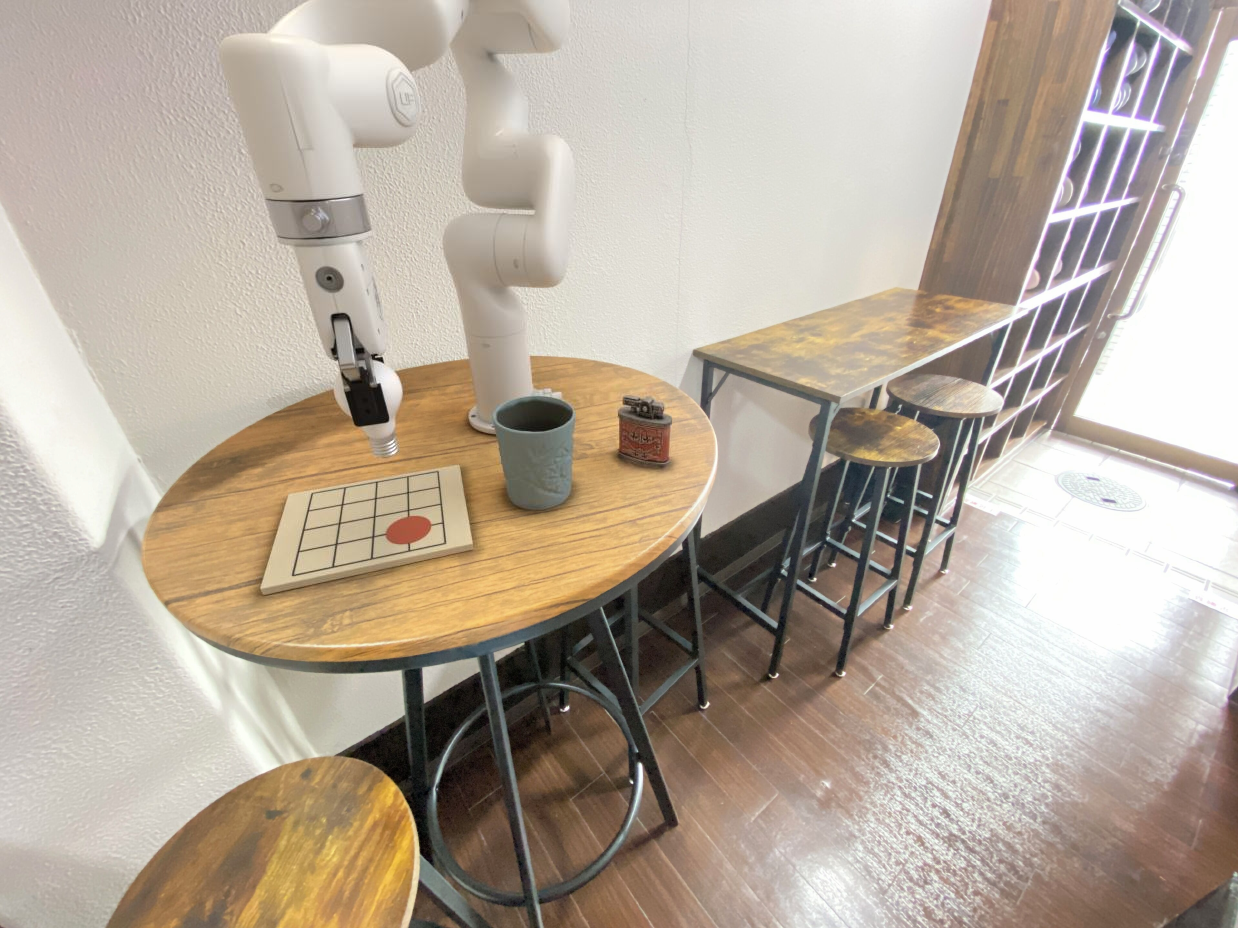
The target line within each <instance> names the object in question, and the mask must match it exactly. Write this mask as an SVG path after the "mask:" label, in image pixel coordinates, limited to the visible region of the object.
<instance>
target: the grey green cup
mask: <svg viewBox="0 0 1238 928" xmlns="http://www.w3.org/2000/svg"><path fill="white" fill-rule="evenodd" d="M492 418H493V423H494V428H495V433H496V434H495V436H496V441H497V446H498V453H499V457H500V464H501V467H502V468H501V469H502V472H503V478H505V488H506V493H507V497H508V499H509V500H510V502H511V503H512V504H513V505H514V506H516V507H518V508H520V509H524V510H528V511H542V510H543V511H544V510H548V509H552V508H555V507H557V506H559V505H561V504H562V503H564V502H565V501H566V500H567V499H568V498H569V496H570V494H571V491H572V476H573V470H572V469H573V458H574V457H573V455H574V454H573V453H574V441H575V439H574V433H575V424H576V410H575V409H574V407H573V406H572V405H571V404H570V402H567V401H566V400H564V399H563V400H560V399H557V398H553V397H547V396H526V397H520V398H516V399H513V400H510V401H507V402H505V403H503V404H501V405H500V406H499V407H497V408H496V409H495V411H494V412H493V415H492Z"/></svg>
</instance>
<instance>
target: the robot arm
mask: <svg viewBox="0 0 1238 928" xmlns="http://www.w3.org/2000/svg"><path fill="white" fill-rule="evenodd" d="M570 28H571V6H570V0H307V1H305V2H304V3H302V4H300V5H298V6H297V7H295V8H293V9H292V10H290V11H289V12H287V13H286V14H285V15H284V16H282V17H281V18H280V19H278V21H276V23H274V25H273V26H272V27H270V29H268V31H267V32H266V33H265V32H247V33H245V32H244V33H235V34H231V35H228V36H226V37H224V38H223V39H222V41H221V42H220V44H219V47H218V59H219V62H220V66H221V70H222V73H223V77H224V79H225V82H226V85H227V87H228V92H229V95H230V98H231V101H232V104H233V107H234V110H235V113H236V116H237V119H238V122H239V125H240V128H241V131H242V134H243V137H244V140H245V143H246V147H247V149H248V152H249V156H250V159H251V163H252V165H253V168H254V171H255V174H256V178H257V181H258V183H259V187H260V190H261V193H262V197H263V199H264V203H265V205H266V208H267V212H268V214H269V218H270V221H271V224H272V228H273V230H274V233H275V236H276V240H277V242H278V243H279V244H280V245H286V246H291V247H293V250H294V254H295V257H296V261H297V264H298V268H299V274H300V275H301V279H302V282H303V287H304V290H305V294H306V297H307V300H308V304H309V307H310V310H311V314H312V317H313V319H314V323H315V327H316V329H317V330H316V331H317V333H318V336H319V339H320V342H321V345H322V347H323V349H324V350H323V351H324V353H325V355H326V356H327V358H329V359H330V360H332V361H334V362H337V364H338V368H339V372H340V373H341V378H342V382H343V387H344V393H345V396H346V399H347V403H348V406H349V409H350V412H351V416H352V418H351V419H352V422H353V425H354V426H355V427H357V428H361V427H362V426H369V425H376V424H383V423H387V422H389V414H388V410H387V406H386V402H385V398H384V395H383V391H382V387H381V383H377V381H376V376H375V371H374V367H373V362H372V360H376V361H379V362H382V363H384V364H385V361H384V357H383V355H384V354H385V353H386V351H387V346H388V323H387V320H386V317H385V313H384V309H383V306H382V301H381V299H380V294H379V290H378V287H377V282H376V279H375V275H374V272H373V268H372V264H371V261H370V258H369V253H368V251H367V248H366V245H365V242H364V240H368V239H369V238H372V237H374V232H373V228H372V223H371V218H370V214H369V210H368V206H367V201H366V197H365V194H364V190H363V185H362V181H361V177H360V172H359V168H358V164H357V160H356V155H355V151H354V149H388V148H394V147H398V146H401V145H402V144H404V143H406V142H407V141H409V140H410V139H411V138H412V137H413V136H414V135H415V134H416V132H417V130H418V128H419V125H420V123H421V118H422V102H421V97H420V92H419V89H418V86H417V82H416V81H415V79H414V77H413V75H412V74H411V73H414V72H416V71H419V70H421V69H424V68H426V67H429V66H431V65H434V64H435V63H436V62H438V61H440V60H441V59H442V58H443V56H444V55H445V54H446V52H447V51H448V50H449V49H450V51H451V54H452V57H453V59H454V62H455V65H456V66H457V70H458V72H459V74H460V77H461V79H462V83H463V86H464V91H465V97H466V109H465V110H466V111H465V122H464V123H465V124H464V135H463V136H464V137H463V147H462V160H461V184H462V189H463V192H464V194H465V196H466V197H467V198H468V200H469V201H470V202H471V203H473V204H474V205H476V206H479V207H481V208H485V209H493V210H494V209H495V210H510V211H511V210H514V211H515V210H516V211H520V210H521V211H534V213H533V214H529V213H527V214H526V213H525V214H524V213H507V212H468V213H464V214H463V213H462V214H459V215H457V216H455V217H454V218H452V219H451V220H450V221H449V222H448V223H447V225H446V226H445V228H444V231H443V236H442V250H443V254H444V256H443V257H444V259H445V262H446V265H447V268H448V271H449V273H450V277H451V279H452V282H453V285H454V287H455V292H456V295H457V300H458V304H459V310H460V314H461V320H462V325H463V332H464V338H465V345H466V350H467V356H468V357H467V358H468V362H469V363H468V364H469V369H470V374H471V381H472V386H473V393H474V399H475V405H474V406H473V407H472V408H471V409H470V410H469V412H468V417H467V418H468V421H469V424H470V426H471V427H472V428H473V429H475V430H477V431H479V432H482V433H485V434H491V435H496V433H495V428H494V423H493V418H492V415H493V412H494V411H495V409H496V408H497V407H499V406H500V405H501V404H503V403H505V402H507V401H510V400H513V399H516V398H520V397H526V396H547V397H553V398H557V399H560V400H563V401H564V399H563V394H562V391H554V392H553V391H552V388H550V387H548V388H543V389H537V388H535V387H534V384H533V374H532V373H533V372H532V363H531V355H530V354H531V353H530V344H529V333H528V323H527V322H528V321H527V314H526V310H525V308H524V306H523V305H524V304H523V303H522V302H521V300H520V298H519V296H518V295H517V294H516V292H515V290H514V289H513V288H514V287H515V288H517V287H518V288H533V289H546V288H547V289H549V288H555V287H557V286H558V285H560V284H561V283H562V282H563V280H564V279H565V277H566V274H567V270H568V265H569V257H570V249H571V238H572V227H573V217H574V205H575V195H576V168H575V167H576V166H575V161H574V156H573V153H572V149H571V148H570V145H569V144H568V143H567V142H566V140H564V139H563V138H562V137H561V136H559V135H556V134H554V133H549V132H528V128H529V116H530V115H529V114H530V111H529V110H530V107H529V102H528V99H527V96H526V95H525V92H524V90H523V89H522V87H521V85H520V84H519V83H518V81H517V79H516V77H514V75H513V74H512V73H511V72H510V71H509V70H508V68H507V67H506V66H505V65H504V63H503V62H502V60H501V59H500V56H499V55H522V54H523V55H524V54H527V55H529V54H548V53H555V52H556V51H558V50H560V49H561V48H562V47H563V46H564V44H565V43H566V42H567V39H568V36H569V33H570V30H571V29H570ZM512 287H513V288H512ZM359 361H365V365H366V369H364V367H363V366H361V367H359V363H358V362H359Z"/></svg>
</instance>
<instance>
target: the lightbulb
mask: <svg viewBox="0 0 1238 928" xmlns="http://www.w3.org/2000/svg"><path fill="white" fill-rule="evenodd" d="M372 362H373V367H374V371H375V376H376V381H377V383H381V387H382V391H383V395H384V398H385V402H386V406H387V410H388V414H389V422H387V423H383V424H376V425H369V426H362V427H360V430H361V431H362V432H363V433H364V434H365V436H367V439H368V442H369V445H370V449H371V453H372V454H373V456H374V457H376V458H379V459H389V458H391V457H393V456H395V455H396V454H397V453H398V452H399V450H400V447H399V443H398V440H397V436H396V432H395V430H396V418H397V417H396V415H397V413H398V411H399V409H400V407H401V404H402V401H403V397H404V392H403V391H404V390H403V389H404V388H403V383H402V381H401V379H400V377H399V375H398V374H397V372H396V371H394V369H392V367H391V366H389V365H387V364H386V363H385V362H384V363H382V362H379V361H376V360H372ZM358 363H359V367H361V366H363V367H364V369H366V365H365V361H359V362H358ZM333 395H334V398H335V401H336V404H337V405H338V407H339V409H340V410H341V411H342V412H343V413H344V414H345V415H347V416H348V417H349V418H350V419H352V416H351V412H350V409H349V406H348V403H347V399H346V396H345V393H344V387H343V382H342V378H341V373H340V371H339V372H338V373H337V375H336V377H335V380H334V382H333Z"/></svg>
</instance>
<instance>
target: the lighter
mask: <svg viewBox="0 0 1238 928" xmlns="http://www.w3.org/2000/svg"><path fill="white" fill-rule="evenodd" d="M622 405H623V407H620V408H619V409H617V417H618V449H617V457H618V458H619V459H621V460H623V461H625V462H628V463H630V464H634V465H638V466H642V467H646V468H653V469H666V468H668V467H669V466H670V462H671V459H670V443H671V442H670V441H671V426H672V424H673V417H672V416H671V415H669V414H666V413H664V412H665V402H660V401H656V400H655V399H654V397H652V396H646V397H645V398H642V397H640V396H638V395H637V396H636V395H631V394H624V395H623V396H622Z"/></svg>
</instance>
